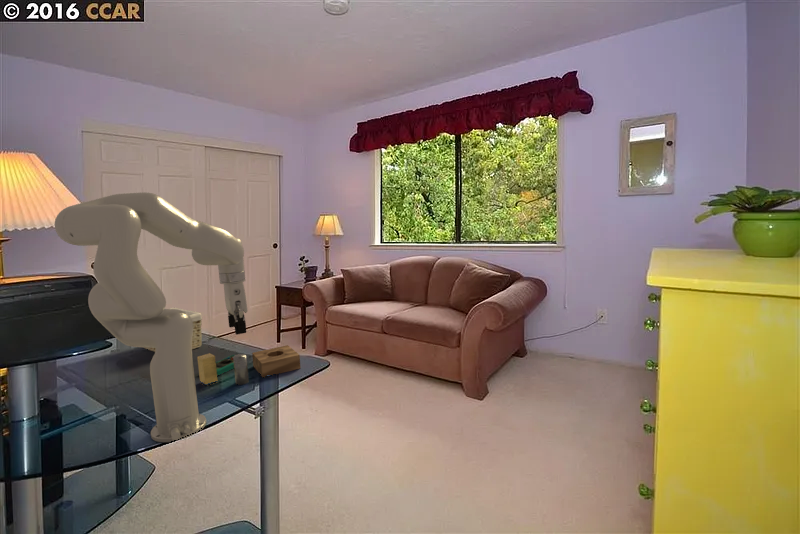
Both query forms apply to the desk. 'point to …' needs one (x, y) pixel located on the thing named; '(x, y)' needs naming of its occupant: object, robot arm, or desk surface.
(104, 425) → the desk surface
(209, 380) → the square bit
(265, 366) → the bore block
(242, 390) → the desk surface
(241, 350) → the desk surface
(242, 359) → the cylinder
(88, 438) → the desk surface
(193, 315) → the storage basket
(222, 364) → the digital multimeter
